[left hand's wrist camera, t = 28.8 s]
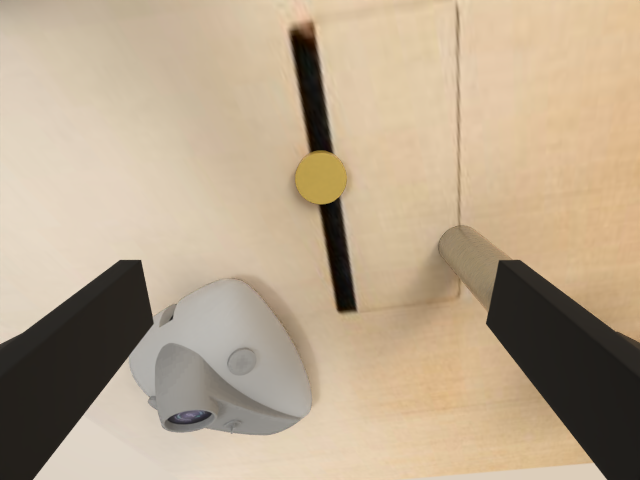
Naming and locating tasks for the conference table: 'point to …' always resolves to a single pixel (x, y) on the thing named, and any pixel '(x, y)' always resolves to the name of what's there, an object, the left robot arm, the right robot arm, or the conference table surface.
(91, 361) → the left robot arm
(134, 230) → the conference table surface
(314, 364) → the conference table surface
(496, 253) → the bottle
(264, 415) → the projector
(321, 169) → the lid
